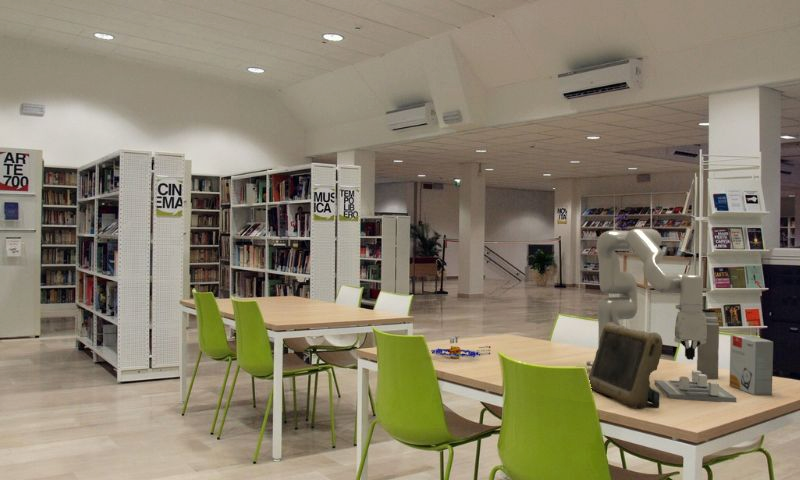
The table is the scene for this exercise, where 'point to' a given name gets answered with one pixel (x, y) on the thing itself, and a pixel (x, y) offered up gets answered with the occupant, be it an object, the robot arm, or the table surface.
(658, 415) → the table surface
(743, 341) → the hard drive box
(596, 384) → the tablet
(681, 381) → the block
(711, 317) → the thermos bottle
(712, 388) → the breaker
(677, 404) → the table surface
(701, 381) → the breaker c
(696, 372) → the breaker
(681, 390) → the panel
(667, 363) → the table surface
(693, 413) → the table surface
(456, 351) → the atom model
